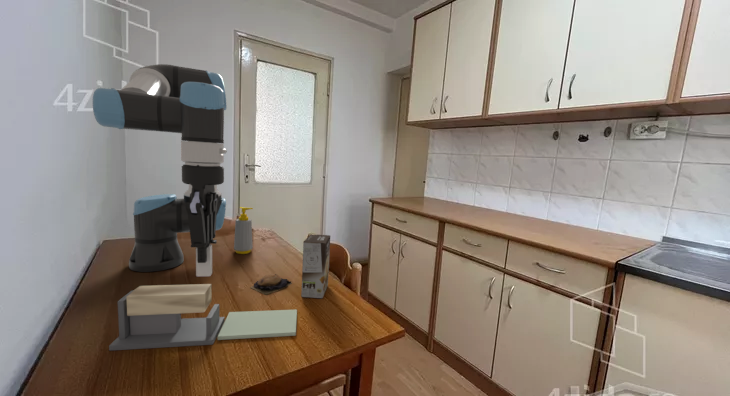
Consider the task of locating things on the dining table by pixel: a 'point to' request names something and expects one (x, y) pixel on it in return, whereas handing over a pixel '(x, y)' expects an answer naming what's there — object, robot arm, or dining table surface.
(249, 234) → the soap bottle
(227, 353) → the dining table surface
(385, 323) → the dining table surface
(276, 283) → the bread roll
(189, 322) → the cradle
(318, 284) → the coffee box
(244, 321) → the sage mat
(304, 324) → the dining table surface
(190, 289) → the maple bar
